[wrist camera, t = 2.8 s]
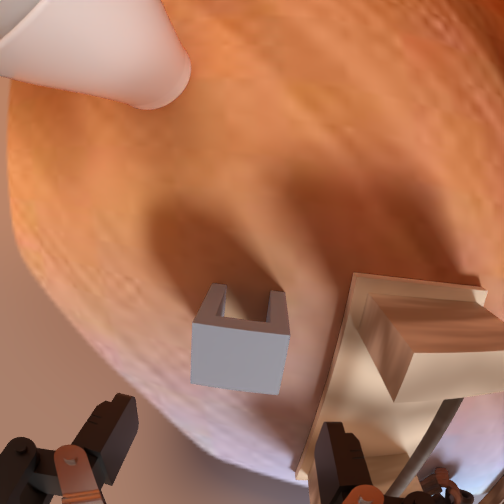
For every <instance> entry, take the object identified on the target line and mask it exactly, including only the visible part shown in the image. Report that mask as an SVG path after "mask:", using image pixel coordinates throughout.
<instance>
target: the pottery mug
mask: <svg viewBox="0 0 504 504" xmlns="http://www.w3.org/2000/svg"><path fill="white" fill-rule="evenodd" d="M420 485H421V487H422V490H423V492H426V493H428V494H429V495H433V494H434V495H433V496H432V498H433V499H434V501H435V504H472V503H473V501H474V497H473V495H472V494H471V493H469V492H467V491H464V490H461V489H459V488H458V487H457V485H456V484H455V483H454V482H453V481H451V480H449V475H448V471H447V470H446V468H436V470H435V474H431V475H430V476H428V477H427V478H425V479H424V480H422V481H421V482H420ZM441 487H445V488H447V489H446V491H445V492H446V493H445V498H444V497H443V496H442V495H441V494H440V493H441V492H442V489H441Z"/></svg>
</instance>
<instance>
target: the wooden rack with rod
mask: <svg viewBox="0 0 504 504" xmlns="http://www.w3.org/2000/svg"><path fill="white" fill-rule="evenodd" d="M487 292H488V291H487V290H486V289H484V288H482V287H478V286H469V285H460V284H451V283H442V282H434V281H425V280H416V279H407V278H399V277H390V276H382V275H373V274H365V273H356V272H353V277H352V282H351V286H350V291H349V295H348V300H347V304H346V309H345V313H344V317H343V321H342V325H341V329H340V333H339V337H338V341H337V345H336V349H335V352H334V356H333V360H332V363H331V367H330V370H329V374H328V377H327V381H326V384H325V387H324V391H323V394H322V397H321V400H320V404H319V407H318V410H317V413H316V416H315V419H314V422H313V425H312V428H311V431H310V434H309V437H308V440H307V442H306V445H305V448H304V451H303V454H302V456H301V459H300V462H299V464H298V467H297V469H296V472H295V477H296V480H308V485H309V496H310V504H321V501H320V493H319V486H318V479H317V472H316V465H315V458H314V450H315V445H316V442H317V439H318V436H319V433H320V430H321V428H322V425H323V423H324V422H342V423H343V426H344V430H345V433H353V434H354V435H355V436H356V437H357V439H358V440H359V441H360V444H361V448H362V451H363V454H364V459H365V461H366V464H367V467H368V471H369V474H370V477H371V481H372V484H373V486H375V487H377V488H378V489H379V490H380V491H381V492H382V493H383V495H386V496H392V497H400V498H405V497H406V496H407V495H408V494H409V493H411V492H415V491H423V490H422V487H421V485H420V482H419V480H418V477H417V475H416V474H417V473H418V472H419V470H420V469H421V468H422V466H423V465H424V463H425V462H426V460H427V459H428V457H429V456H430V454H431V453H432V451H433V450H434V448H435V447H436V445H437V444H438V442H439V441H440V439H441V437H442V436H443V434H444V432H445V431H446V429H447V427H448V426H449V424H450V422H451V421H452V419H453V417H454V415H455V413H456V412H457V410H458V408H459V406H460V404H461V402H462V401H463V399H464V397H471V396H478V395H484V394H491V393H497V392H502V391H504V322H503V321H502V320H500V319H499V318H498V317H496V316H495V315H494V314H492V313H491V312H489V311H488V310H487V309H485V308H484V307H483V306H484V302H485V299H486V296H487Z"/></svg>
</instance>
